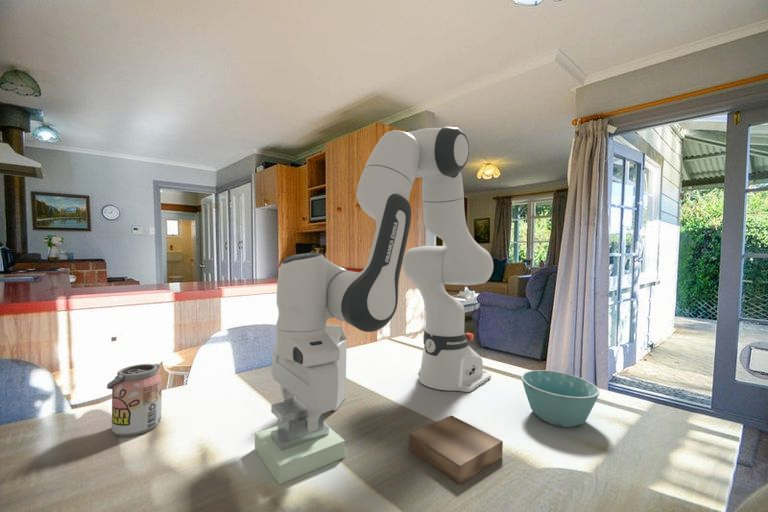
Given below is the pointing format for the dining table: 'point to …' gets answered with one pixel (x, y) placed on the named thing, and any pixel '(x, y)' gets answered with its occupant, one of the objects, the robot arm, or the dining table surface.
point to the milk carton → (341, 342)
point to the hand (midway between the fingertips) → (299, 418)
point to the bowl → (559, 397)
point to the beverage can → (136, 400)
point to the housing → (294, 425)
